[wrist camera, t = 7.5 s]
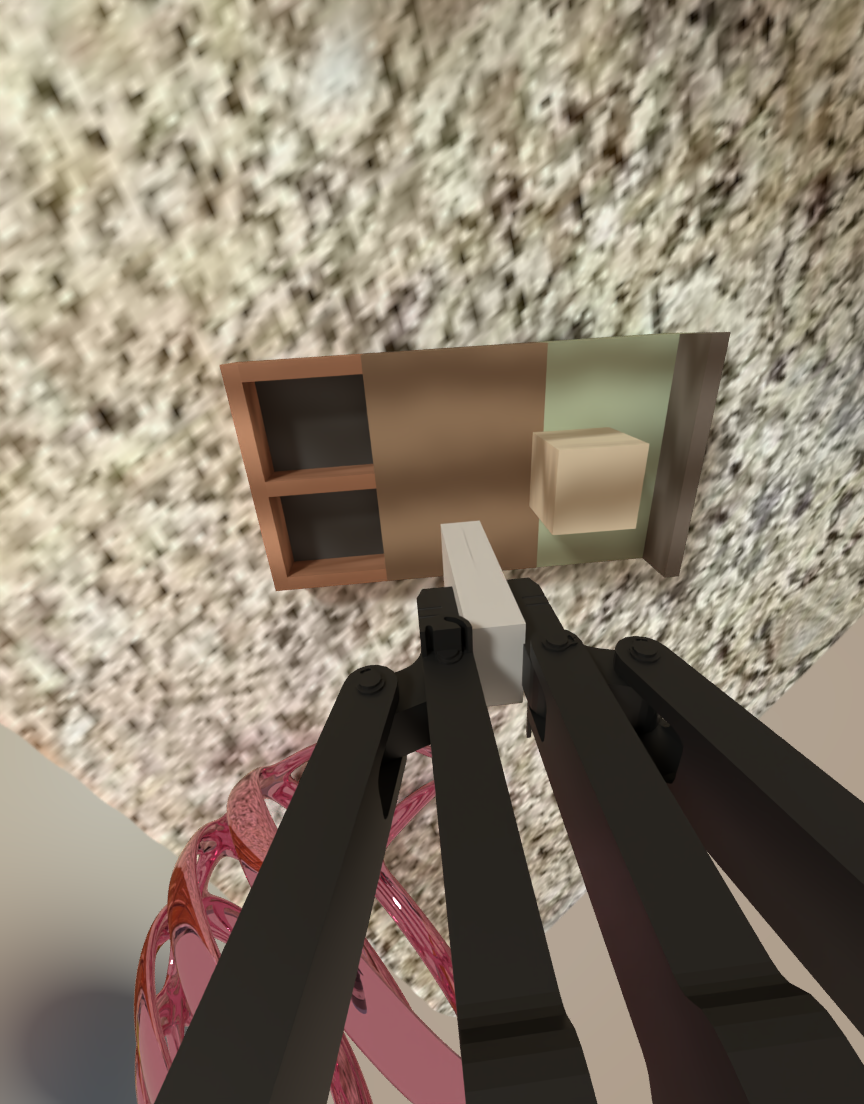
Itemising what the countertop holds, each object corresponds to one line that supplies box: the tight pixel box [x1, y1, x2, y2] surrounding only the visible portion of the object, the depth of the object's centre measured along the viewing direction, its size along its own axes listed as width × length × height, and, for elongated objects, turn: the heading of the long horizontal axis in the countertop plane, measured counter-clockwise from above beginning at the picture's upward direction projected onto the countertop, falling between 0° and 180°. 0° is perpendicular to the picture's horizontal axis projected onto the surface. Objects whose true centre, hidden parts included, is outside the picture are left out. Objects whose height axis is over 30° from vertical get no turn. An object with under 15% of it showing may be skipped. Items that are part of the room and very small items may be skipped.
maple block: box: [529, 427, 649, 535], centre depth 27 cm, size 5×5×5 cm
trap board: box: [220, 332, 730, 591], centre depth 29 cm, size 15×28×6 cm, turn 93°
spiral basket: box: [134, 743, 466, 1104], centre depth 34 cm, size 28×28×27 cm
